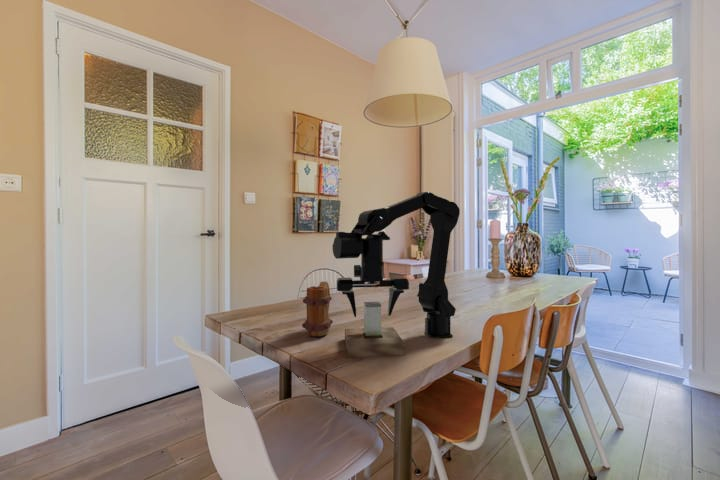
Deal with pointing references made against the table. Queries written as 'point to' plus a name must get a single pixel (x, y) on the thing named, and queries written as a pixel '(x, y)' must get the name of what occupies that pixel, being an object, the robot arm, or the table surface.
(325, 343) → the table surface
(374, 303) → the column
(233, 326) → the table surface
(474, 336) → the table surface
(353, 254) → the robot arm
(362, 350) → the stand block
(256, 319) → the table surface
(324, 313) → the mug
